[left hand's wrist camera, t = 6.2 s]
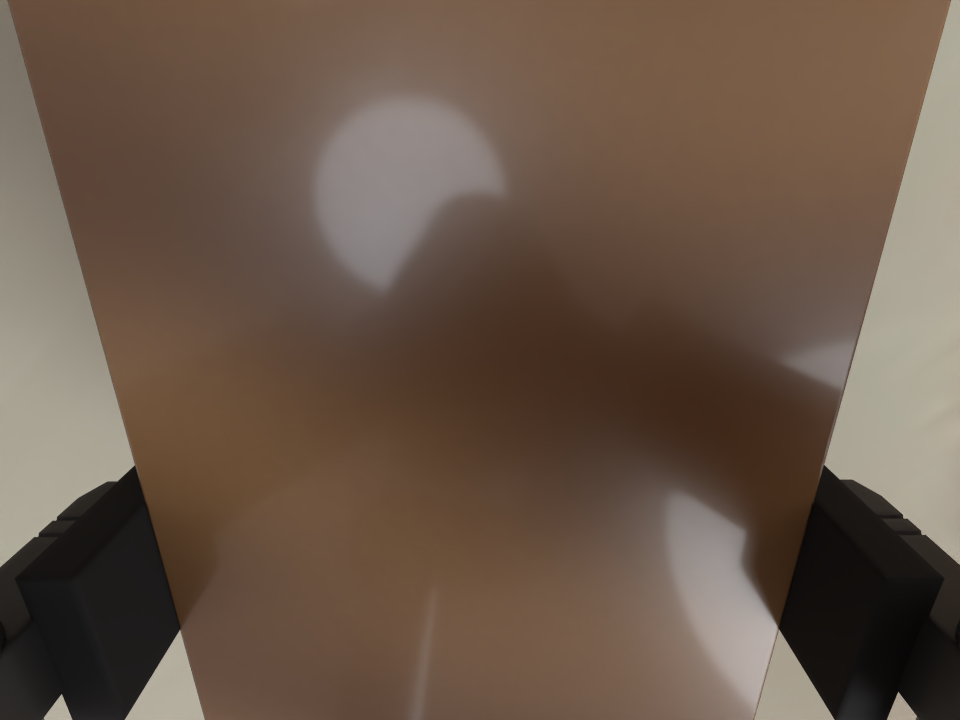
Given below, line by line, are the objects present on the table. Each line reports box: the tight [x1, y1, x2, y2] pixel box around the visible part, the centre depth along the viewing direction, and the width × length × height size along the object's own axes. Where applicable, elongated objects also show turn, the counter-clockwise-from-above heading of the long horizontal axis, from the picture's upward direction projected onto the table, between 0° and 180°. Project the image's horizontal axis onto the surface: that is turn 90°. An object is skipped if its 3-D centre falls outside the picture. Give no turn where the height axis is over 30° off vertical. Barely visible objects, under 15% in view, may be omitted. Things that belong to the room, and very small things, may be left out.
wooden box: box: [8, 0, 951, 720], centre depth 11 cm, size 18×10×8 cm, turn 0°
